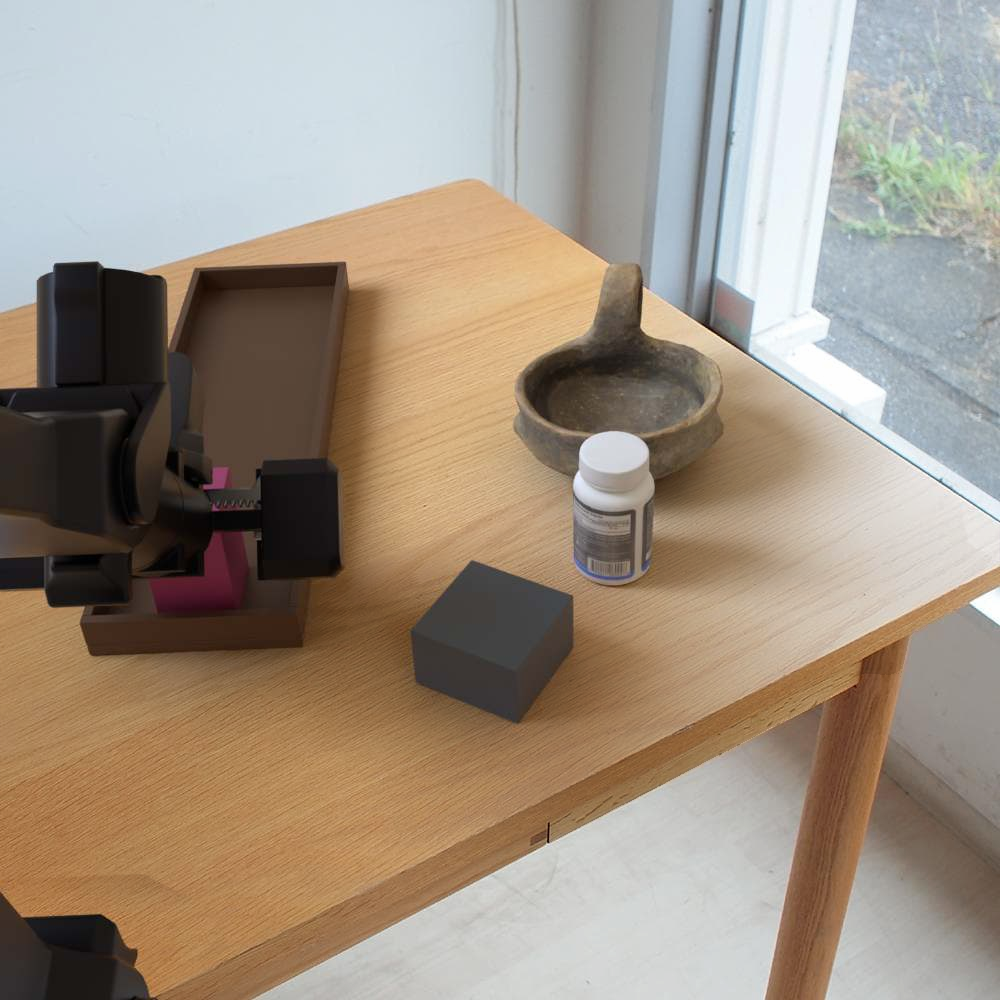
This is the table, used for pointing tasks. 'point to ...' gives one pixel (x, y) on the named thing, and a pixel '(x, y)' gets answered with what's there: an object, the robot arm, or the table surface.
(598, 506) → the pill bottle
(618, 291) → the bowl
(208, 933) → the table surface
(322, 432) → the tray
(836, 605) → the table surface
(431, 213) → the table surface
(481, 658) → the slate block
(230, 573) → the mulberry block
